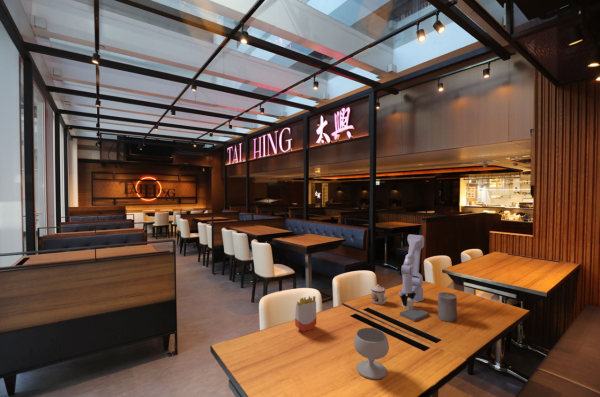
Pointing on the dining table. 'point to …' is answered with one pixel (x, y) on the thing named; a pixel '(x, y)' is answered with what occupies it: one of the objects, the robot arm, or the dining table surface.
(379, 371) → the chalice
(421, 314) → the serving board
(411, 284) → the robot arm
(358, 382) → the dining table surface
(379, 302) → the teacup with lid
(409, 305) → the cube
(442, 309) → the pillar candle
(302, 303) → the french fries container
